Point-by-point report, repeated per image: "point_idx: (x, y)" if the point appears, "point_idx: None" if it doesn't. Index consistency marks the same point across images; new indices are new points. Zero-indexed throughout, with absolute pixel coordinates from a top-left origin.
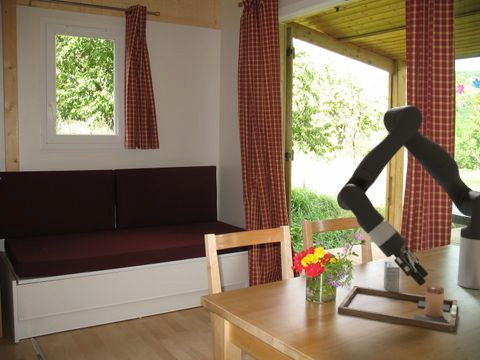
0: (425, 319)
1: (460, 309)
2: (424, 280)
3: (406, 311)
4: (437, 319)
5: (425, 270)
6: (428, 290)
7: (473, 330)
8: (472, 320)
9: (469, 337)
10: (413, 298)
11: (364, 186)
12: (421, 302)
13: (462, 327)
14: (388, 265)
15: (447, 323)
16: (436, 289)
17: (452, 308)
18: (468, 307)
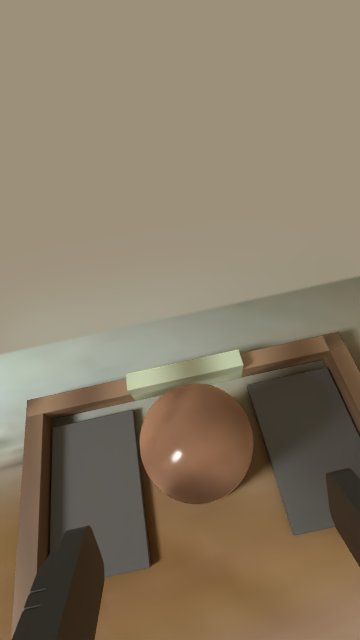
0: (317, 464)
1: (78, 384)
2: (355, 476)
3: (254, 605)
4: (274, 419)
5: (67, 561)
6: (247, 469)
7: (265, 301)
8: (174, 324)
9: (336, 296)
10: None
11: None
12: None
13: (265, 332)
14: None
15: (333, 358)
16: (216, 421)
17: (175, 377)
18: (41, 366)
